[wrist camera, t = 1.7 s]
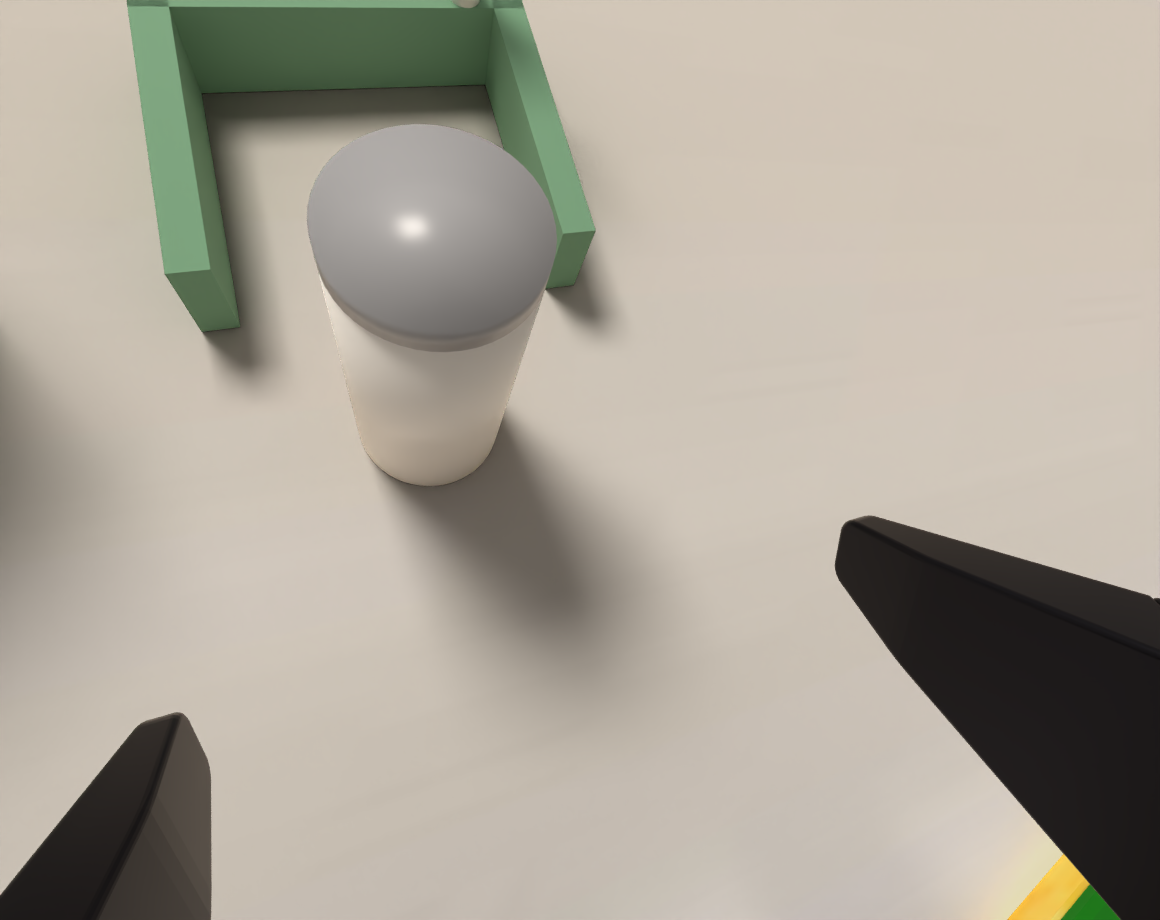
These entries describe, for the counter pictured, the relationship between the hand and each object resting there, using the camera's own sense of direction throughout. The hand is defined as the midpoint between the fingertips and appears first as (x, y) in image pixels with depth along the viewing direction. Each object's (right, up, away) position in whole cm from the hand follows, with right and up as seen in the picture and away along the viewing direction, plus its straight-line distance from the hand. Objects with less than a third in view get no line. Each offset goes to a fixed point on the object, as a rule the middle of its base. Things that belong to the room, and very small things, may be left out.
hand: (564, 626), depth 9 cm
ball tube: (-5, +4, +14) cm, 16 cm away
